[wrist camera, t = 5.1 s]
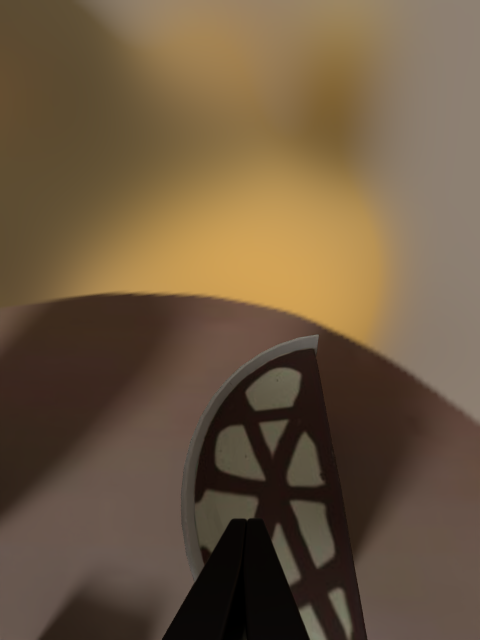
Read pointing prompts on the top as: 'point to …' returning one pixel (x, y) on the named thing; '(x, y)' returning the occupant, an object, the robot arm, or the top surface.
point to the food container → (276, 483)
